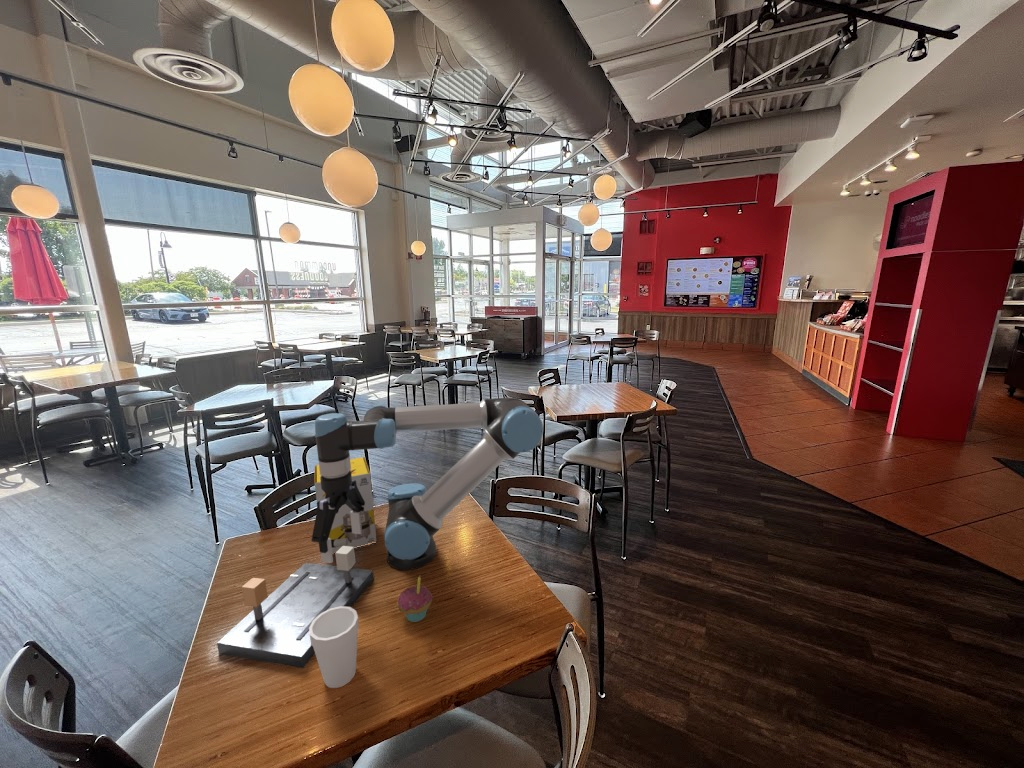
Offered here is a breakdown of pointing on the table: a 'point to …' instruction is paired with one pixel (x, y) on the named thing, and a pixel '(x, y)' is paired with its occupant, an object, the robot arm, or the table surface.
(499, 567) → the table surface
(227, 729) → the table surface
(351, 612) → the foam cup
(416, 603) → the cupcake
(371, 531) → the packaging box
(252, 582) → the fader orange
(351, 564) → the fader cream
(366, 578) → the fader console
